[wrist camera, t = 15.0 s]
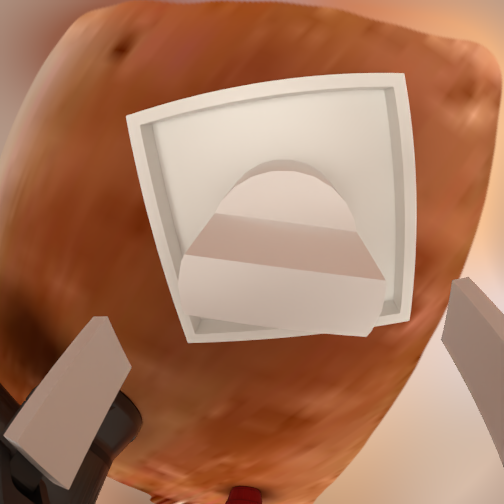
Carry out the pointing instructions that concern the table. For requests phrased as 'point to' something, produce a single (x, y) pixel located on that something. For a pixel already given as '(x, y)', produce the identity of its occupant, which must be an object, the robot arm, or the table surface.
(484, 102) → the table surface
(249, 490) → the plastic cup
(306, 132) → the tray
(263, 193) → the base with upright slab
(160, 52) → the table surface
